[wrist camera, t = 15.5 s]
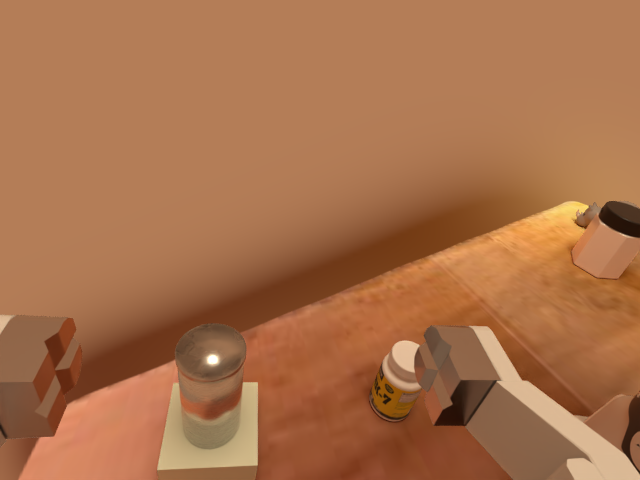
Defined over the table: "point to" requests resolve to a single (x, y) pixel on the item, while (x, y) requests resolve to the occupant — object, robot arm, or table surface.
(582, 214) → the round bodied animal figurine
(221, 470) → the block
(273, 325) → the table surface
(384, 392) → the supplement bottle
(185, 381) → the clear glass canister
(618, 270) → the jar
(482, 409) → the robot arm
